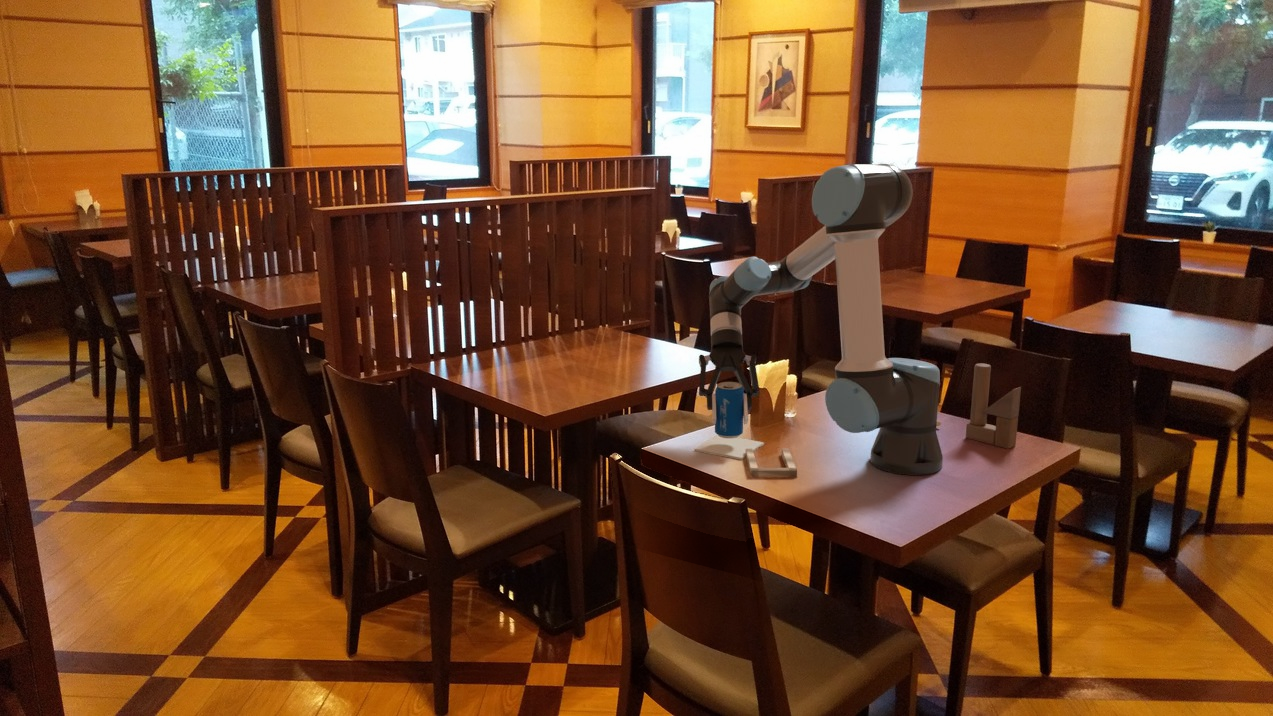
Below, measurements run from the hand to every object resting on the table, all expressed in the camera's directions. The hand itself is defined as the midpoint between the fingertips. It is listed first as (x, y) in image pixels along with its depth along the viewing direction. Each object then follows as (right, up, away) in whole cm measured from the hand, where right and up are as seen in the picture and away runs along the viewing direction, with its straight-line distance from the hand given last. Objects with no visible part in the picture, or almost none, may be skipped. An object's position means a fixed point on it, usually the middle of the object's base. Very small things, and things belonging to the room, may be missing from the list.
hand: (730, 421), depth 203 cm
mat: (0, -6, +5) cm, 8 cm away
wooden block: (+62, -5, +7) cm, 62 cm away
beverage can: (0, -4, +5) cm, 6 cm away
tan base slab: (+8, -9, -7) cm, 14 cm away
